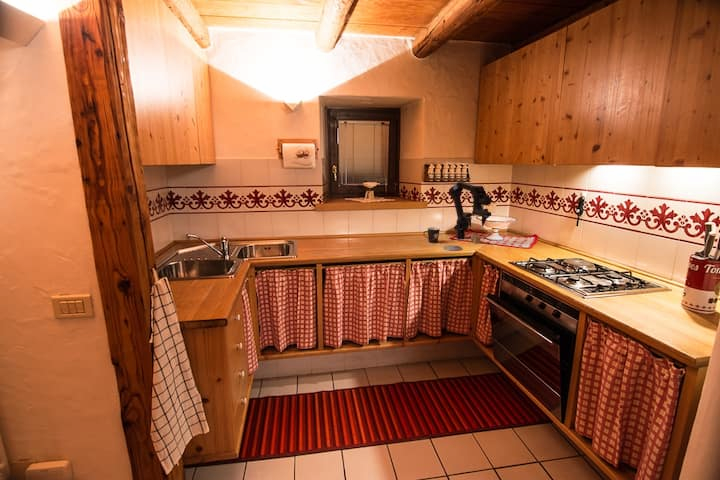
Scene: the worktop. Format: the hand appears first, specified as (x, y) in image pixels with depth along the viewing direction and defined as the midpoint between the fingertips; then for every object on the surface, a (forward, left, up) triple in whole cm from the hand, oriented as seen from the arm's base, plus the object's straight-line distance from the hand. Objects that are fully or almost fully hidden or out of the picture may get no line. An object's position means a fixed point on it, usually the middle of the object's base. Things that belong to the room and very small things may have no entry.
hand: (476, 226), depth 249 cm
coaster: (+10, -22, -12) cm, 27 cm away
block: (-1, +1, -12) cm, 12 cm away
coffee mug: (-10, -29, -12) cm, 33 cm away
